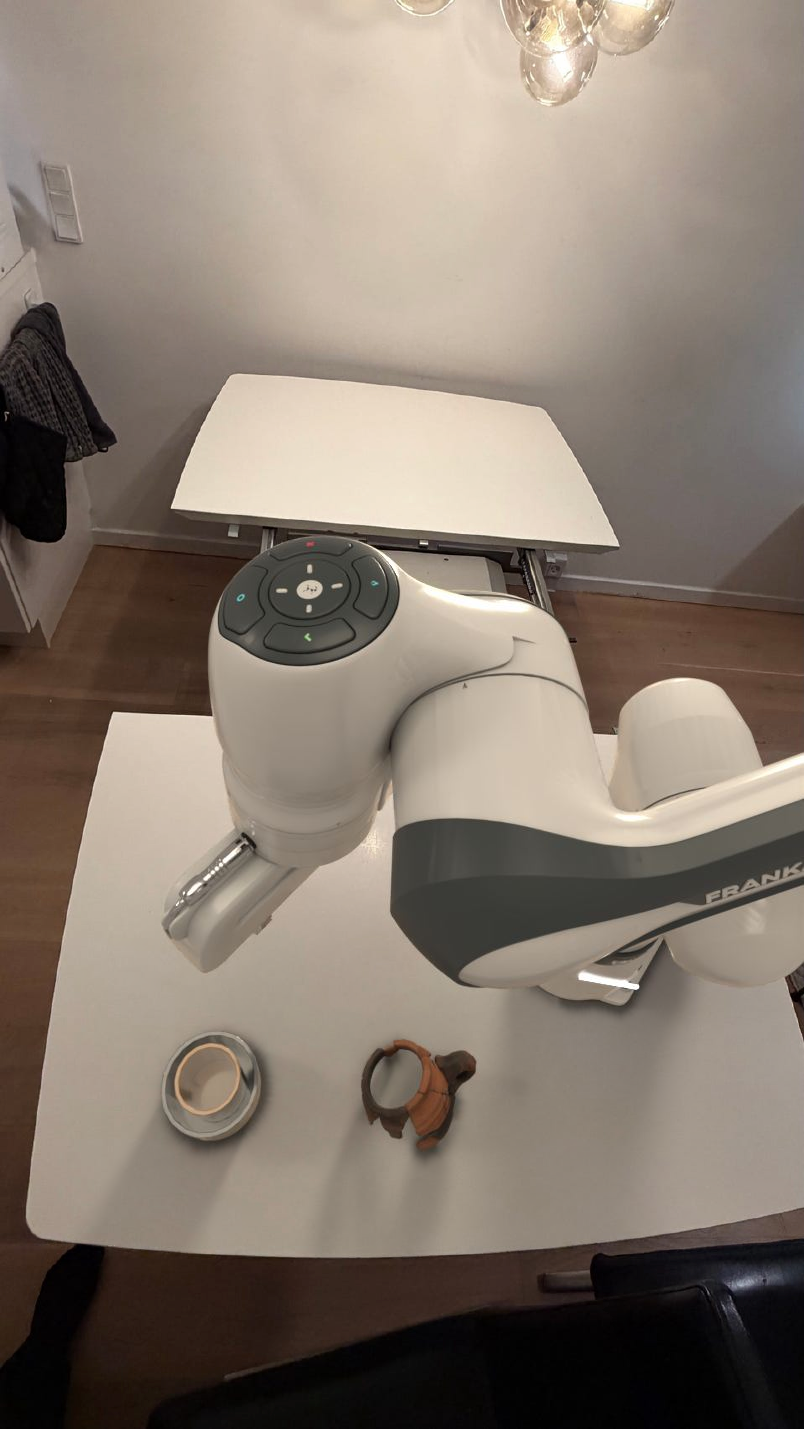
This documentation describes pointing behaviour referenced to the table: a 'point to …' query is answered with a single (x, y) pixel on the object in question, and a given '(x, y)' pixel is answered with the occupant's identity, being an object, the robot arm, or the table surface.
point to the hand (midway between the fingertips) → (303, 874)
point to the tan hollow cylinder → (210, 1082)
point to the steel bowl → (192, 1123)
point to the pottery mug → (421, 1092)
